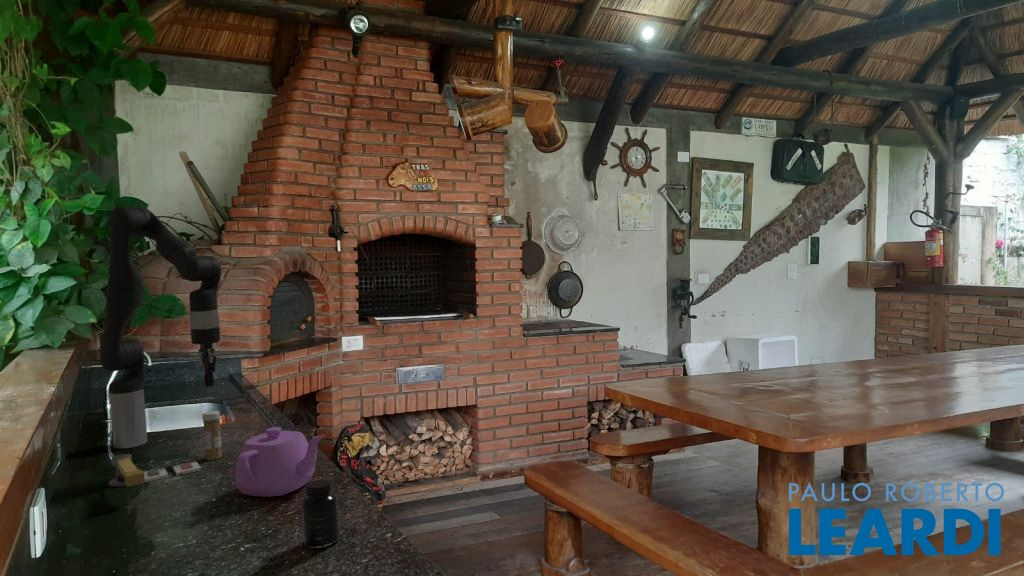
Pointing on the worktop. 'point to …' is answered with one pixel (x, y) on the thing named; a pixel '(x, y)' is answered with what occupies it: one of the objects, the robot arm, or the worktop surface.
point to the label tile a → (155, 474)
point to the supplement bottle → (320, 514)
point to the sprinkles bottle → (212, 435)
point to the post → (118, 480)
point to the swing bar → (128, 469)
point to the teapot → (275, 463)
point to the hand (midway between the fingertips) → (209, 386)
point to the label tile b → (186, 468)
